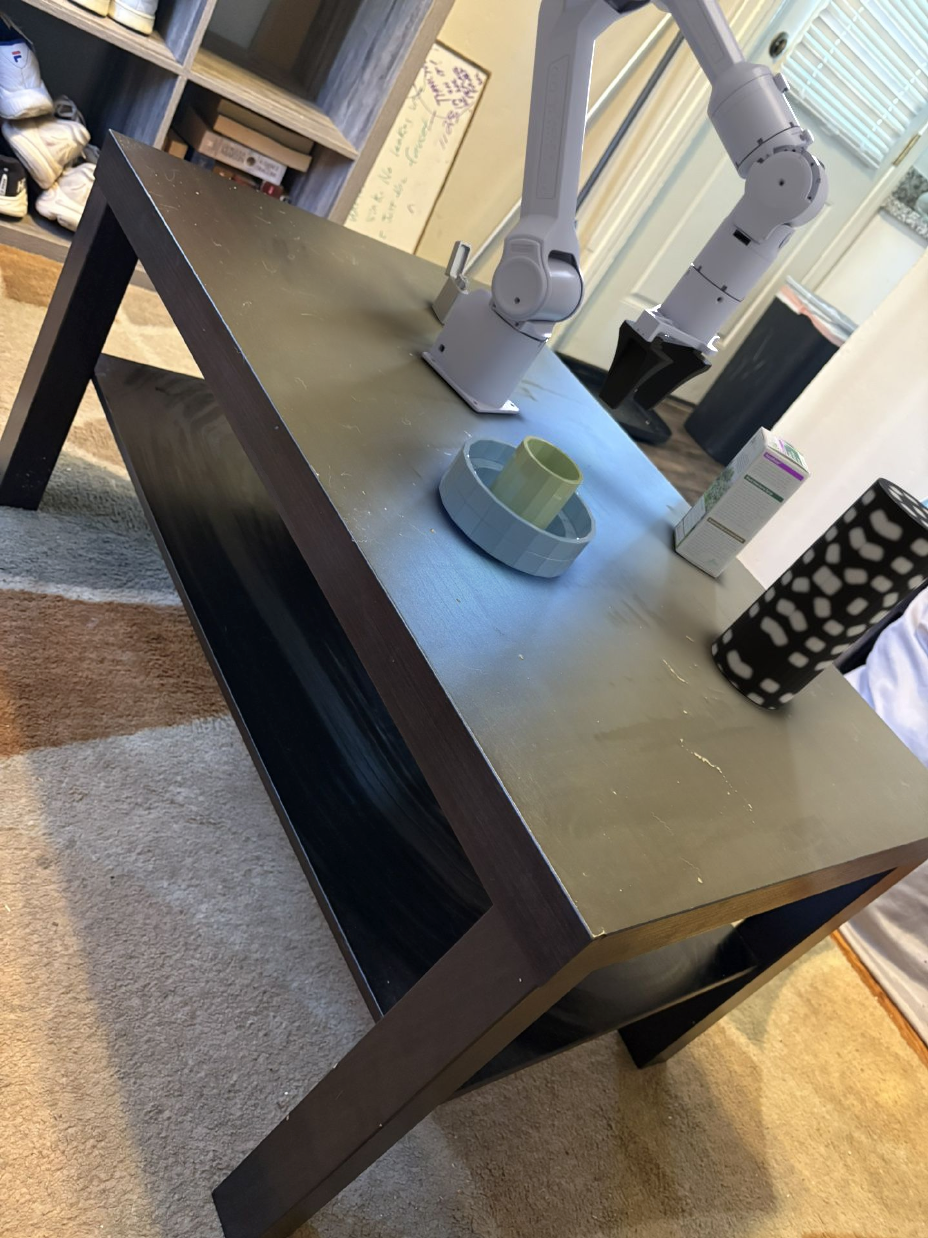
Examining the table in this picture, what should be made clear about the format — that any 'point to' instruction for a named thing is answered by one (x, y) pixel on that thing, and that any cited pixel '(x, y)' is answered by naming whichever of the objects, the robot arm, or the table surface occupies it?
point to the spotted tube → (828, 596)
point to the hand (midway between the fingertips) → (624, 403)
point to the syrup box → (740, 502)
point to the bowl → (510, 514)
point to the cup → (537, 481)
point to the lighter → (453, 282)
